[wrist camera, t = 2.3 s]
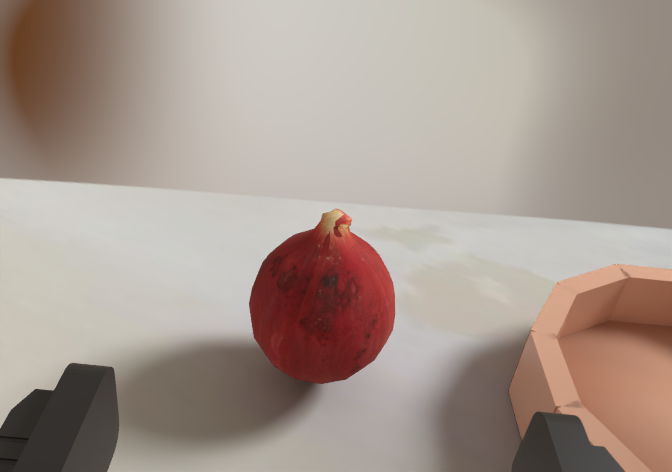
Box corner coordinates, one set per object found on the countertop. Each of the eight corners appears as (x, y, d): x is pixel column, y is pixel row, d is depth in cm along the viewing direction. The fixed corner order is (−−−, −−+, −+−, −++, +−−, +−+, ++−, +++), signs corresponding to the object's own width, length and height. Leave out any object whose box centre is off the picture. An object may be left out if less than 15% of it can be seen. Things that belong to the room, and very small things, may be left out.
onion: (376, 437, 25) (411, 276, 21) (232, 413, 25) (236, 249, 21) (383, 336, 30) (413, 188, 26) (262, 317, 30) (271, 167, 26)
